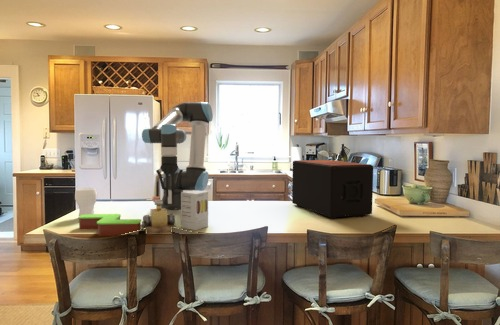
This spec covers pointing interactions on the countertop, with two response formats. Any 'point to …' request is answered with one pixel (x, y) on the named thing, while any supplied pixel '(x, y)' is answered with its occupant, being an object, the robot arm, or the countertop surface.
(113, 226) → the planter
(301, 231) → the countertop surface
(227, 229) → the countertop surface
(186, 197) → the supplement box
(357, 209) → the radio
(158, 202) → the lever
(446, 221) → the countertop surface
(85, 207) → the cup
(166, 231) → the board
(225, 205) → the countertop surface
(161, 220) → the valve
